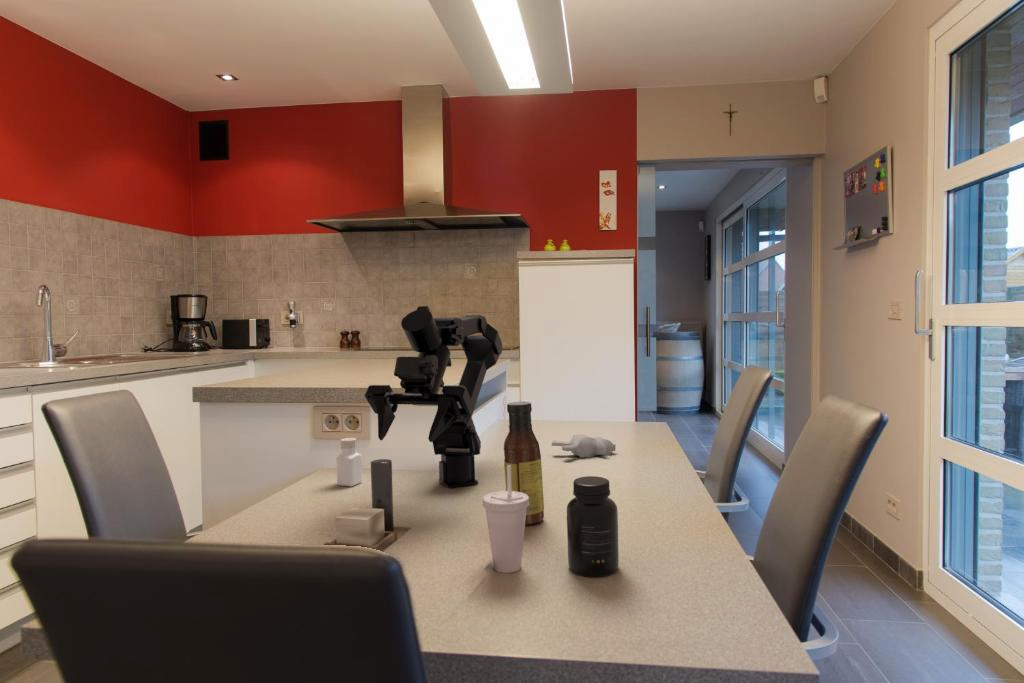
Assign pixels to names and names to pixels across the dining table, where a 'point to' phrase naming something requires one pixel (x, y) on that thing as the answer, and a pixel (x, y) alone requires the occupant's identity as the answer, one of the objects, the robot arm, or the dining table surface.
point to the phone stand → (382, 504)
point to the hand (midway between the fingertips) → (404, 439)
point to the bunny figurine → (586, 446)
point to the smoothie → (506, 526)
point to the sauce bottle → (524, 460)
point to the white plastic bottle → (349, 464)
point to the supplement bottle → (592, 528)
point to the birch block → (360, 526)
